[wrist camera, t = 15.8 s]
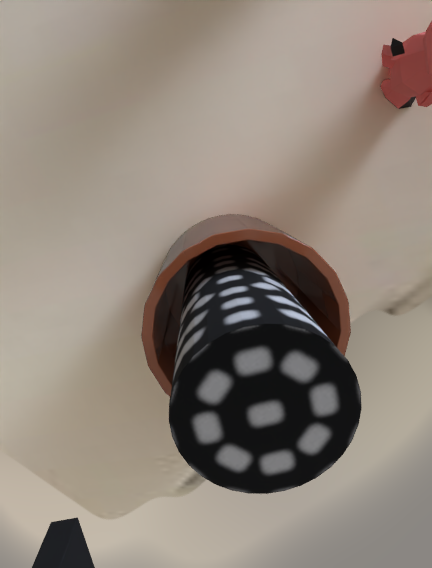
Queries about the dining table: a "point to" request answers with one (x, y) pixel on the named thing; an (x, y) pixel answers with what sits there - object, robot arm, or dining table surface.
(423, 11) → the dining table surface
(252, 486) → the white-spotted black cylinder
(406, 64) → the cat figurine
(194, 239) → the terracotta coffee mug
